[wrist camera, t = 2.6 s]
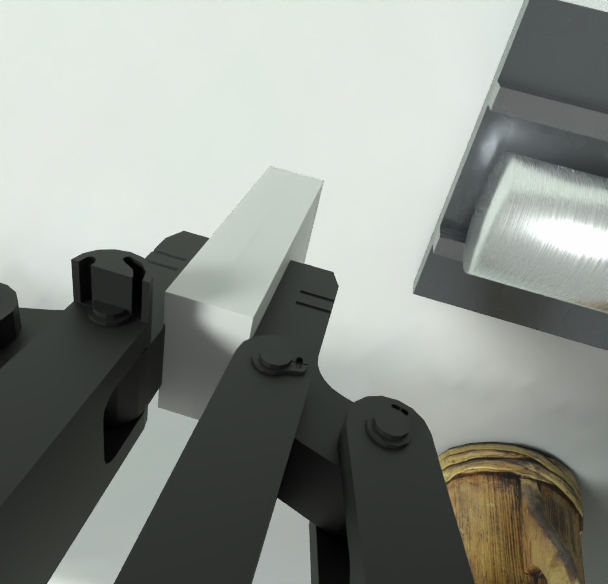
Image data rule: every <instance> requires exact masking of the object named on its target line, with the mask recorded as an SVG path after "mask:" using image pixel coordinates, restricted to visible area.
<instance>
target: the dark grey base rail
mask: <svg viewBox="0 0 608 584" xmlns="http://www.w3.org/2000/svg"><path fill="white" fill-rule="evenodd" d="M507 152H511V153H514V154H518V155H522V156H526V157H529V158H533V159H537V160H540V161H544V162H548V163H552V164H555V165H559V166H563V167H567V168H570V169H574V170H578V171H581V172H585V173H589V174H593V175H596V176H600V177H604V178H608V12H604V11H600V10H596V9H592V8H588V7H584V6H580V5H576V4H572V3H568V2H563V1H559V0H524V2H523V5H522V7H521V10H520V12H519V15H518V18H517V20H516V23H515V25H514V28H513V30H512V33H511V35H510V38H509V41H508V43H507V46H506V48H505V51H504V53H503V56H502V58H501V61H500V64H499V66H498V69H497V71H496V74H495V76H494V79H493V81H492V84H491V87H490V89H489V92H488V94H487V97H486V99H485V102H484V104H483V107H482V110H481V112H480V115H479V117H478V120H477V122H476V125H475V127H474V130H473V133H472V135H471V138H470V140H469V143H468V145H467V148H466V150H465V153H464V156H463V158H462V161H461V163H460V166H459V168H458V171H457V173H456V176H455V179H454V181H453V184H452V186H451V189H450V191H449V194H448V196H447V199H446V201H445V204H444V207H443V209H442V212H441V214H440V217H439V219H438V222H437V224H436V227H435V230H434V232H433V235H432V237H431V240H430V242H429V245H428V247H427V250H426V253H425V255H424V258H423V260H422V263H421V265H420V268H419V270H418V273H417V276H416V278H415V281H414V287H413V294H416V295H419V296H423V297H426V298H430V299H433V300H436V301H440V302H443V303H447V304H450V305H454V306H457V307H461V308H464V309H467V310H471V311H474V312H478V313H481V314H485V315H488V316H492V317H495V318H498V319H502V320H505V321H509V322H512V323H516V324H519V325H522V326H526V327H529V328H533V329H536V330H540V331H543V332H547V333H550V334H553V335H557V336H560V337H564V338H567V339H571V340H574V341H577V342H581V343H584V344H588V345H591V346H595V347H598V348H602V349H605V350H608V314H607V313H604V312H600V311H597V310H593V309H590V308H586V307H583V306H579V305H576V304H572V303H569V302H565V301H562V300H558V299H555V298H551V297H548V296H544V295H541V294H537V293H534V292H530V291H527V290H523V289H520V288H516V287H513V286H509V285H506V284H502V283H499V282H495V281H492V280H488V279H485V278H481V277H478V276H474V275H471V274H467V273H465V271H464V269H463V252H464V245H465V240H466V236H467V232H468V228H469V225H470V221H471V218H472V215H473V212H474V209H475V206H476V204H477V201H478V199H479V196H480V194H481V191H482V189H483V187H484V185H485V183H486V180H487V178H488V177H489V175H490V173H491V171H492V169H493V168H494V166H495V165H496V163H497V162H498V160H499V159H500V158H501V157H502V156H503V155H504V154H505V153H507Z"/></svg>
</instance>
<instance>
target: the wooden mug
mask: <svg viewBox="0 0 608 584" xmlns="http://www.w3.org/2000/svg"><path fill="white" fill-rule="evenodd" d="M438 459H439V462H440V466H441V469H442V473H443V476H444V479H445V483H446V486H447V490H448V493H449V496H450V500H451V503H452V507H453V510H454V514H455V517H456V520H457V524H458V527H459V531H460V534H461V537H462V541H463V544H464V548H465V551H466V555H467V558H468V561H469V565H470V568H471V572H472V575H473V578H474V582H475V584H585V581H584V571H583V560H582V550H581V540H580V535H581V533H582V532H583V510H582V502H581V495H580V488H579V485H578V483H577V481H576V479H575V477H574V475H573V473H572V472H571V471H570V470H569V469H567V468H566V467H565V466H563V465H562V464H561V463H559V462H558V461H557V460H555V459H551V458H548V457H546V456H544V455H542V454H540V453H539V452H537V451H534V450H530V449H526V448H522V447H519V446H517V445H514V444H508V443H497V442H484V443H470V444H465V445H461V446H457V447H453V448H450V449H448V450H447V451H445V452H444V453H442V454H441V455H439V456H438Z"/></svg>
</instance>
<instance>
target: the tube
mask: <svg viewBox="0 0 608 584" xmlns="http://www.w3.org/2000/svg"><path fill="white" fill-rule="evenodd" d="M463 269H464V271H465V273H467V274H471V275H474V276H478V277H481V278H485V279H488V280H492V281H495V282H499V283H502V284H506V285H509V286H513V287H516V288H520V289H523V290H527V291H530V292H534V293H537V294H541V295H544V296H548V297H551V298H555V299H558V300H562V301H565V302H569V303H572V304H576V305H579V306H583V307H586V308H590V309H593V310H597V311H600V312H604V313H607V314H608V178H604V177H600V176H596V175H593V174H589V173H585V172H581V171H578V170H574V169H570V168H567V167H563V166H559V165H555V164H552V163H548V162H544V161H540V160H537V159H533V158H529V157H526V156H522V155H518V154H514V153H511V152H507V153H505V154H504V155H503V156H502V157H501V158H500V159H499V160H498V162H497V163H496V165H495V166H494V168H493V169H492V171H491V173H490V175H489V177H488V178H487V180H486V183H485V185H484V187H483V189H482V191H481V194H480V196H479V199H478V201H477V204H476V206H475V209H474V212H473V215H472V218H471V221H470V225H469V228H468V232H467V236H466V240H465V245H464V252H463Z"/></svg>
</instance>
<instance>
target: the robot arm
mask: <svg viewBox="0 0 608 584" xmlns="http://www.w3.org/2000/svg"><path fill="white" fill-rule="evenodd" d="M323 182H324V181H323V180H319V179H315V178H312V177H308V176H304V175H301V174H297V173H294V172H290V171H286V170H283V169H279V168H275V167H272V166H270V167H269V168H268V169H267V171H266V172H265V173H264V174H263V175H262V177H261V178H260V179H259V180H258V181H257V182H256V184H255V185H254V186H253V187H252V188H251V190H250V191H249V192H248V193H247V194H246V196H245V197H244V198H243V199H242V200H241V202H240V203H239V204H238V205H237V206H236V208H235V209H234V210H233V211H232V212H231V213H230V215H229V216H228V217H227V218H226V219H225V221H224V222H223V223H222V224H221V225H220V227H219V228H218V229H217V230H216V231H215V233H214V234H213V235H212V236H211V237H210V238H207V237H203V236H200V235H196V234H193V233H189V232H186V231H182V232H180V233H177V234H175V235H172V236H170V237H167V238H165V239H164V240H163V241H162V242H161V243H160V244H159V245H158V246H157V247H156V248H155V249H154V252H151V253H150V254H149V255H148V256H147V257H146V258H145V259H144V258H143V257H141V256H138V255H136V254H134V253H131V252H127V251H121V250H115V249H114V250H95V251H91V252H87V253H83V254H81V255H79V256H77V257H75V258H73V259H72V260H71V263H72V279H73V296H74V302H73V303H71V304H70V305H69V306H68V307H67V308H66V309H65V310H44V309H30V308H19V306H18V300H17V295H16V292H15V291H14V290H12V289H11V288H10V287H9V286H8V285H5V284H2V283H0V584H47V583H48V581H49V580H50V578H51V576H52V575H53V573H54V572H55V570H56V568H57V567H58V565H59V564H60V562H61V560H62V559H63V557H64V556H65V554H66V552H67V551H68V549H69V548H70V546H71V544H72V543H73V541H74V540H75V538H76V536H77V535H78V533H79V532H80V530H81V528H82V527H83V525H84V524H85V522H86V520H87V519H88V517H89V516H90V514H91V512H92V511H93V509H94V508H95V506H96V504H97V503H98V501H99V500H100V498H101V496H102V495H103V493H104V492H105V490H106V489H107V487H108V485H109V484H110V482H111V481H112V479H113V477H114V476H115V474H116V473H117V471H118V469H119V468H120V466H121V465H122V463H123V461H124V460H125V458H126V457H127V455H128V453H129V452H130V450H131V449H132V447H133V445H134V444H135V442H136V441H137V439H138V437H139V436H140V434H141V433H142V431H143V429H144V427H145V424H146V421H147V414H148V404H149V403H150V401H151V400H152V398H153V397H154V395H155V394H156V392H157V390H158V389H159V399H158V407H159V408H162V409H165V410H169V411H172V412H175V413H178V414H182V415H185V416H188V417H191V418H194V419H198V420H199V422H198V423H197V425H196V427H195V429H194V431H193V433H192V435H191V437H190V439H189V441H188V443H187V445H186V446H185V448H184V450H183V452H182V454H181V456H180V458H179V460H178V462H177V464H176V466H175V467H174V469H173V471H172V473H171V475H170V477H169V479H168V481H167V483H166V485H165V487H164V489H163V490H162V492H161V494H160V496H159V498H158V500H157V502H156V504H155V506H154V508H153V510H152V512H151V513H150V515H149V517H148V519H147V521H146V523H145V525H144V527H143V529H142V531H141V533H140V535H139V536H138V538H137V540H136V542H135V544H134V546H133V548H132V550H131V552H130V554H129V556H128V557H127V559H126V561H125V563H124V565H123V567H122V569H121V571H120V573H119V575H118V577H117V579H116V580H115V582H114V584H252V581H253V578H254V574H255V571H256V567H257V564H258V561H259V557H260V554H261V550H262V547H263V544H264V540H265V537H266V534H267V530H268V527H269V523H270V520H271V517H272V513H273V510H274V506H275V503H276V500H277V498H278V499H280V500H281V501H283V502H284V503H286V504H287V505H288V506H290V507H291V508H293V509H294V510H295V511H297V512H298V513H300V514H301V515H302V516H304V517H305V518H307V519H308V520H310V522H309V533H310V560H311V584H475V582H474V578H473V575H472V572H471V568H470V565H469V561H468V558H467V555H466V551H465V548H464V544H463V541H462V537H461V534H460V531H459V527H458V524H457V520H456V517H455V514H454V510H453V507H452V503H451V500H450V496H449V493H448V490H447V486H446V483H445V479H444V476H443V473H442V469H441V466H440V462H439V459H438V455H437V452H436V449H435V445H434V442H433V438H432V435H431V432H430V431H429V429H428V427H427V425H426V423H425V421H424V420H423V419H422V418H421V417H420V416H419V415H418V414H417V413H416V412H415V411H414V410H413V409H412V408H411V407H409V406H407V405H405V404H404V403H402V402H400V401H398V400H395V399H391V398H388V397H384V396H367V397H365V398H362V399H360V400H358V401H355V403H354V402H352V401H350V400H349V399H347V398H345V397H344V396H342V395H341V394H339V393H338V392H336V391H335V390H334V389H332V388H331V387H330V386H329V385H328V383H327V382H326V381H325V380H324V378H323V377H322V375H321V373H320V371H319V367H318V356H319V352H320V349H321V345H322V342H323V338H324V335H325V332H326V328H327V325H328V321H329V318H330V314H331V311H332V307H333V304H334V301H335V297H336V294H337V290H338V287H339V286H338V284H337V281H336V278H335V276H334V273H333V272H331V271H327V270H324V269H320V268H317V267H314V266H310V265H307V264H304V262H305V257H306V253H307V249H308V245H309V241H310V236H311V232H312V228H313V224H314V220H315V215H316V211H317V207H318V203H319V199H320V194H321V190H322V186H323Z"/></svg>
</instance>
